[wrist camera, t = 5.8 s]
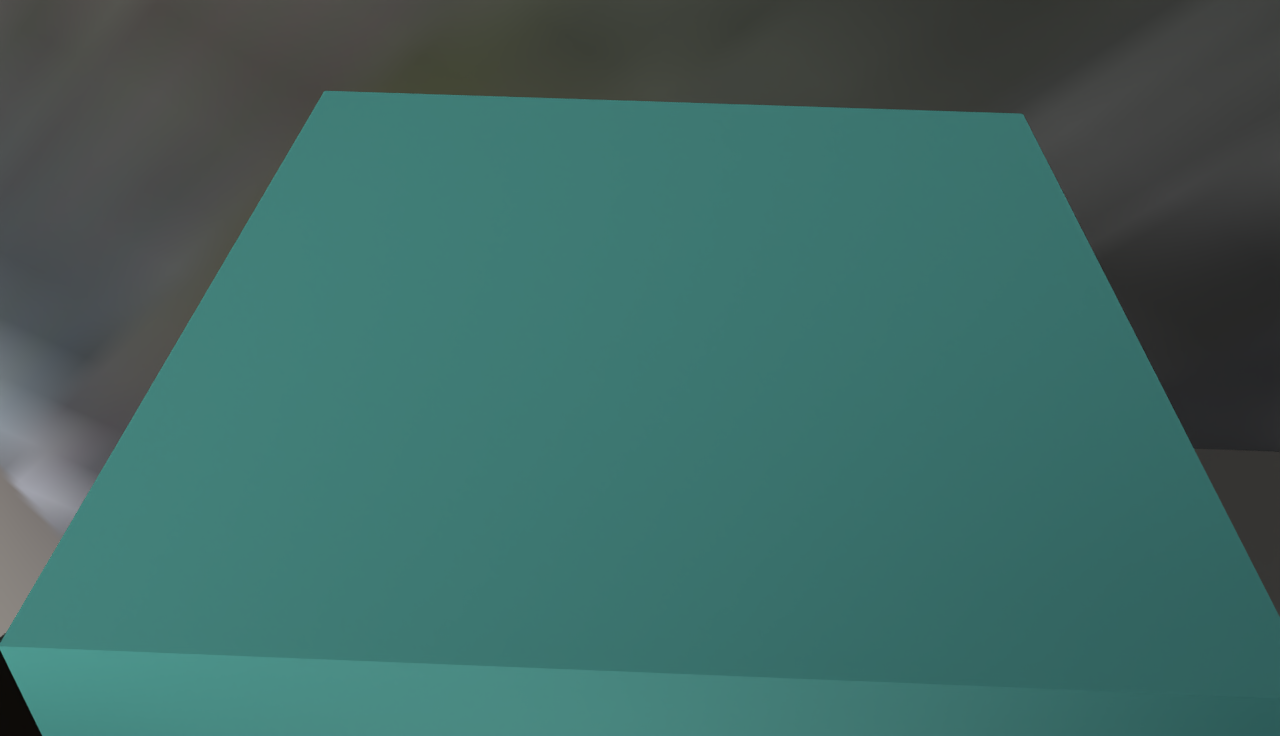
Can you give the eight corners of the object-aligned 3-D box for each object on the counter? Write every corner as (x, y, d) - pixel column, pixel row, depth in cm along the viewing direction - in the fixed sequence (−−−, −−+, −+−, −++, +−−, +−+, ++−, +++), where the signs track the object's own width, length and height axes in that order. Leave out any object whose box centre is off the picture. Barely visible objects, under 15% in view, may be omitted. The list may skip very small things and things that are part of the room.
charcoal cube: (1281, 449, 24) (1399, 647, 20) (1203, 612, 27) (1291, 812, 23) (1032, 439, 24) (1100, 635, 20) (983, 604, 27) (1033, 801, 23)
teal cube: (1023, 113, 8) (1322, 699, 4) (910, 587, 11) (1027, 1184, 7) (324, 91, 8) (-4, 646, 4) (398, 567, 11) (244, 1149, 8)
